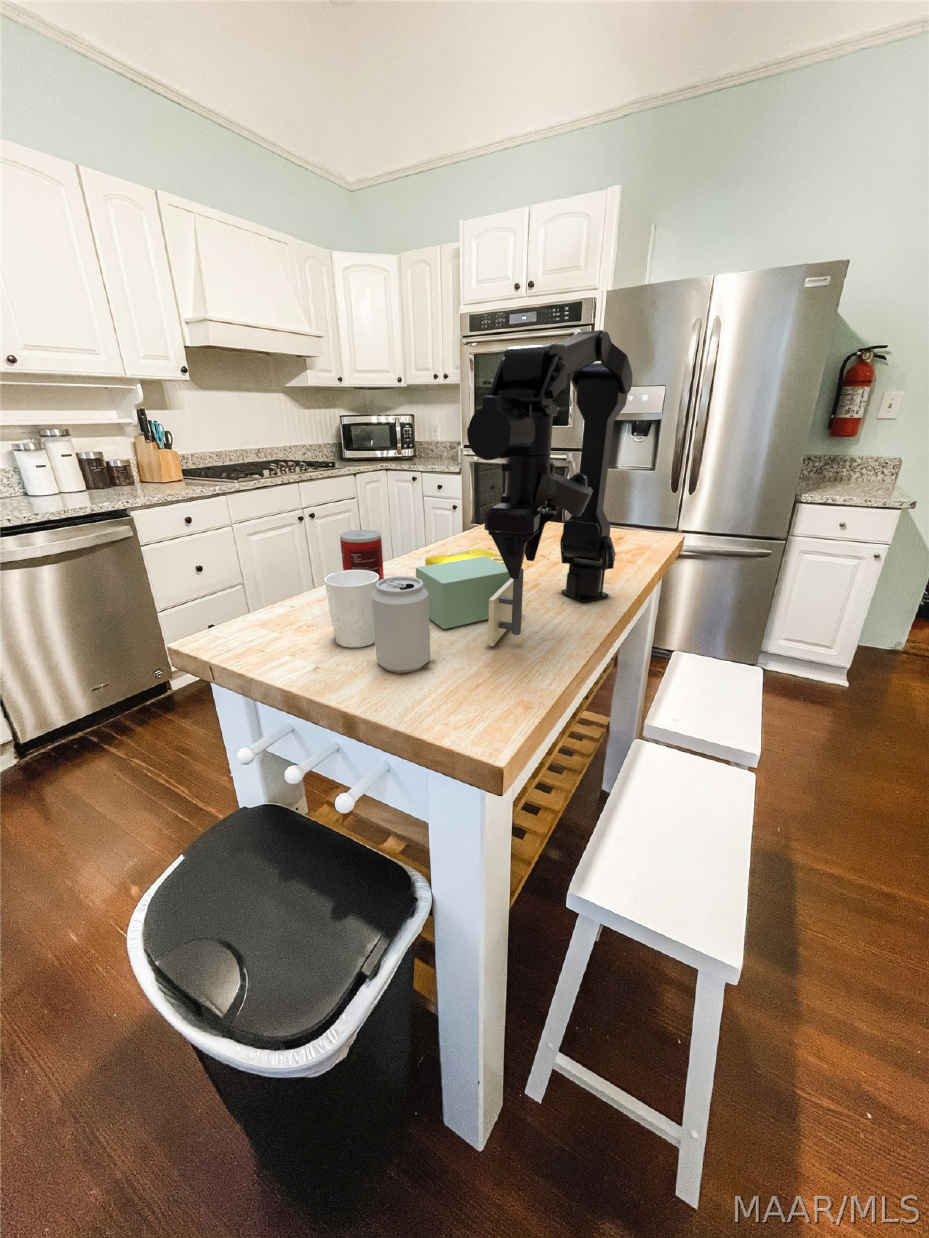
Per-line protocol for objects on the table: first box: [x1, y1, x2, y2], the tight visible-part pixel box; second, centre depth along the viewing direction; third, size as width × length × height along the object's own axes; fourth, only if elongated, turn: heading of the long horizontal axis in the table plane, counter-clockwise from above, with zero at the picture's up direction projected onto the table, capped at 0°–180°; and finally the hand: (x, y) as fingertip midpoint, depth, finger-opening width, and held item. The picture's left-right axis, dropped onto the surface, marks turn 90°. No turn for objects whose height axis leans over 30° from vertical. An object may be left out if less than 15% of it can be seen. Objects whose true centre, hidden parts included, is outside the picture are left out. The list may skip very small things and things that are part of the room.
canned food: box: [339, 529, 385, 581], centre depth 97 cm, size 8×8×11 cm
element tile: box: [424, 547, 505, 566], centre depth 103 cm, size 15×15×5 cm
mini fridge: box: [415, 556, 511, 630], centre depth 86 cm, size 14×10×8 cm
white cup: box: [324, 570, 379, 649], centre depth 76 cm, size 8×8×10 cm
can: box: [372, 575, 431, 674], centre depth 68 cm, size 8×8×12 cm
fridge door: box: [487, 568, 525, 647], centre depth 77 cm, size 14×4×12 cm, turn 158°
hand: (523, 569), depth 71 cm, fingers open, 9 cm apart
